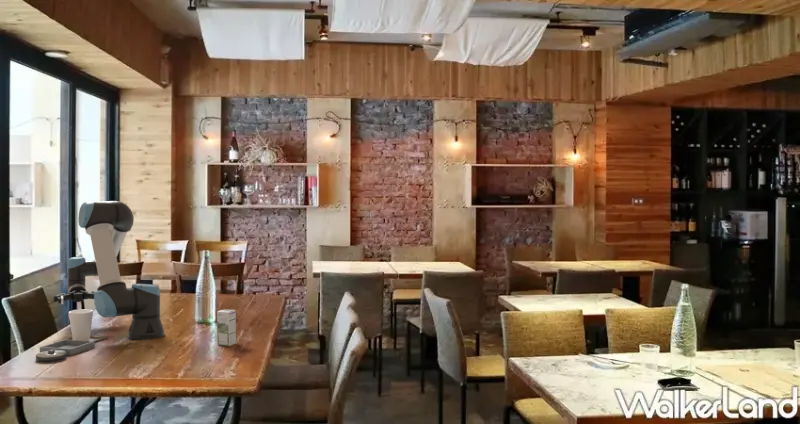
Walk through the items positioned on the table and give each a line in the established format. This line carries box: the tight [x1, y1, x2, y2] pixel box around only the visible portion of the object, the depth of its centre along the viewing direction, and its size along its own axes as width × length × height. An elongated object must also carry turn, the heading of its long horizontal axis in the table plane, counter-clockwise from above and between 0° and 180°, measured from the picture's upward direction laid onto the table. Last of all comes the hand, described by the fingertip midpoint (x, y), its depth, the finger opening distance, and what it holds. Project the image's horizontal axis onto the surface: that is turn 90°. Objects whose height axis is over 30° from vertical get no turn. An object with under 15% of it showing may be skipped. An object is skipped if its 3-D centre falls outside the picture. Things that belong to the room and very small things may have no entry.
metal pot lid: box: [35, 349, 67, 364], centre depth 270 cm, size 11×11×4 cm
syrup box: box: [216, 308, 237, 347], centre depth 296 cm, size 6×6×14 cm
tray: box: [39, 339, 95, 357], centre depth 284 cm, size 14×14×3 cm
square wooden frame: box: [53, 335, 109, 344], centre depth 301 cm, size 15×15×1 cm
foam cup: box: [68, 308, 94, 341], centre depth 301 cm, size 10×9×13 cm
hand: (79, 300), depth 310 cm, fingers open, 13 cm apart
